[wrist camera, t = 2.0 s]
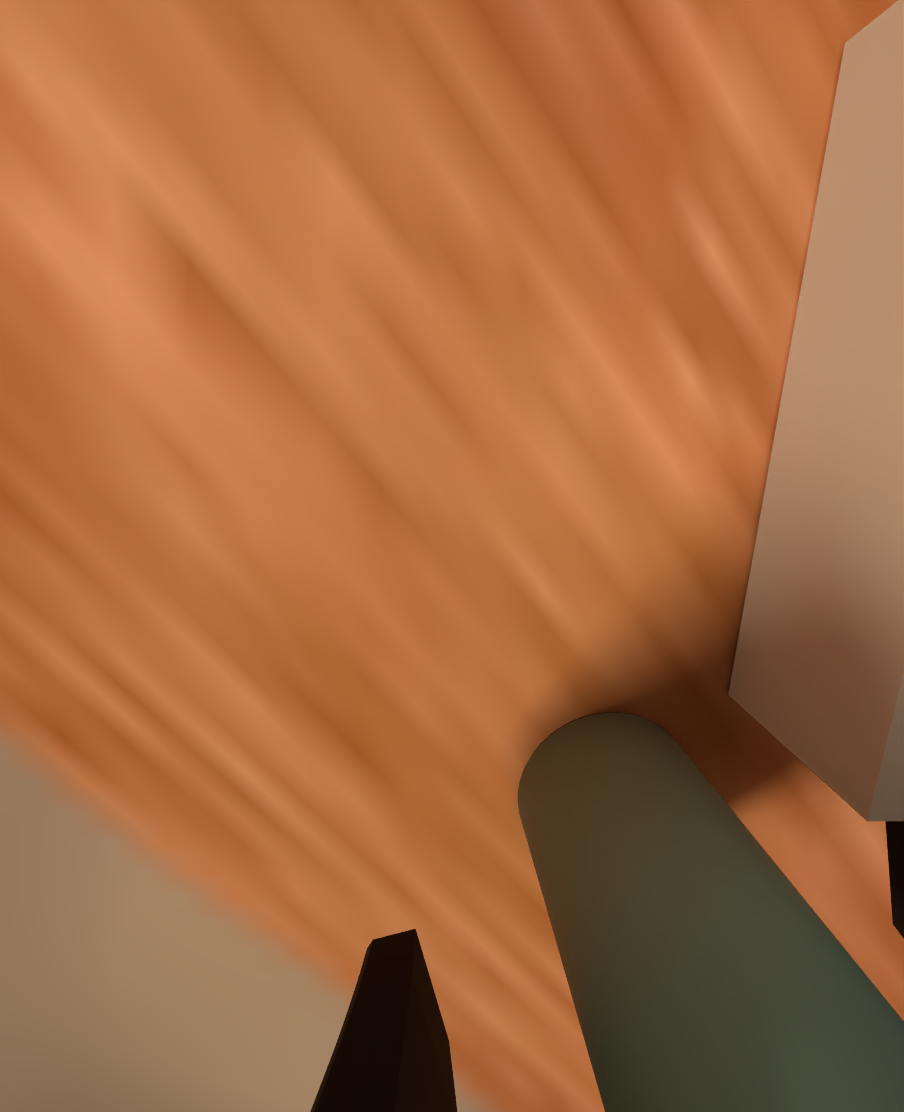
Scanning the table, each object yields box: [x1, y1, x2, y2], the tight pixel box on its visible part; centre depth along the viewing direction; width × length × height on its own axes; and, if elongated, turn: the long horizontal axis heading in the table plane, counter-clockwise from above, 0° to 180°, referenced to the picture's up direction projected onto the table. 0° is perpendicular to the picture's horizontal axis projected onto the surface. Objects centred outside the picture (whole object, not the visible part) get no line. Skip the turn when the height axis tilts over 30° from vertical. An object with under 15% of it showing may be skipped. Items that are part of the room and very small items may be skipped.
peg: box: [518, 713, 904, 1112], centre depth 8 cm, size 3×3×8 cm
